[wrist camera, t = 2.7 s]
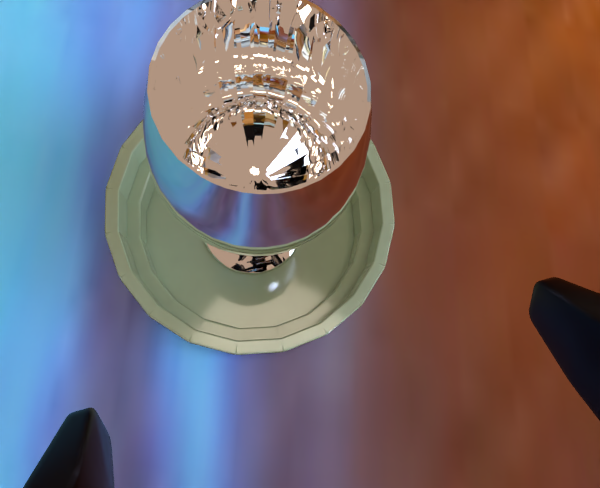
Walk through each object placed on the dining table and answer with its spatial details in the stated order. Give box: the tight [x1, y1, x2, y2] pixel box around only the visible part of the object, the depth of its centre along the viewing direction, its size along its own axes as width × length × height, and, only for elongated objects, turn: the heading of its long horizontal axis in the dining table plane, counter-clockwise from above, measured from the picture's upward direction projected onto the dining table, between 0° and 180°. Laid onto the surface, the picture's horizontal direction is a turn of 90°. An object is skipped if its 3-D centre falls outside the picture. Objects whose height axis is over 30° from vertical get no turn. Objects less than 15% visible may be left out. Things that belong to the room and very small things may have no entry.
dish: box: [105, 120, 395, 355], centre depth 21 cm, size 11×11×3 cm
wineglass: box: [143, 0, 372, 275], centre depth 16 cm, size 6×6×12 cm
